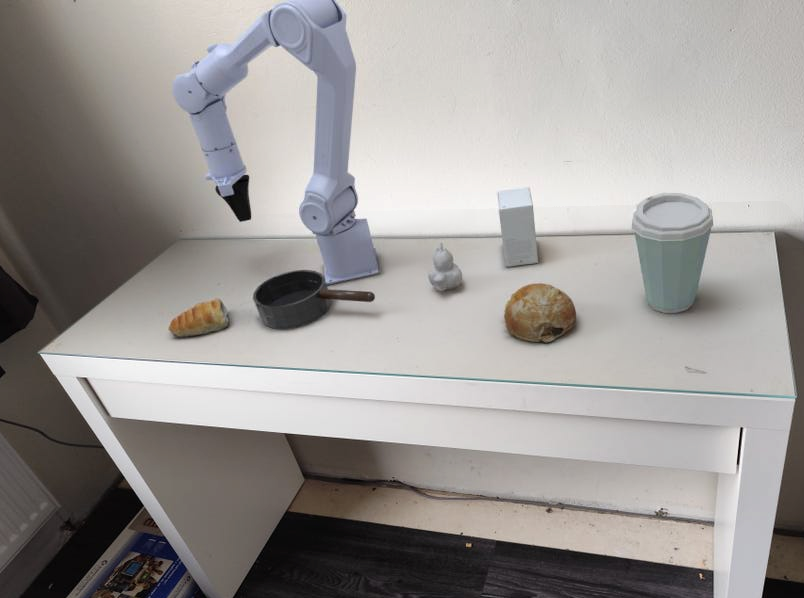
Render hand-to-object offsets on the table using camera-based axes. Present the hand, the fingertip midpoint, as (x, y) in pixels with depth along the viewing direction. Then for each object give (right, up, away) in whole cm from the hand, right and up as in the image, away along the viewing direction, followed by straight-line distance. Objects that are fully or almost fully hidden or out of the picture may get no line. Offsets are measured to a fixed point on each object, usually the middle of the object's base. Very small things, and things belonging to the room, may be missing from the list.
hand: (245, 219), depth 121 cm
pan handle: (+21, -16, -15) cm, 31 cm away
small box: (+49, -8, -6) cm, 50 cm away
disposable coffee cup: (+69, -17, -24) cm, 75 cm away
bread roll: (+50, -20, -24) cm, 60 cm away
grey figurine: (+37, -14, -12) cm, 41 cm away
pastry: (-3, -20, -10) cm, 23 cm away
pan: (+12, -17, -10) cm, 23 cm away
